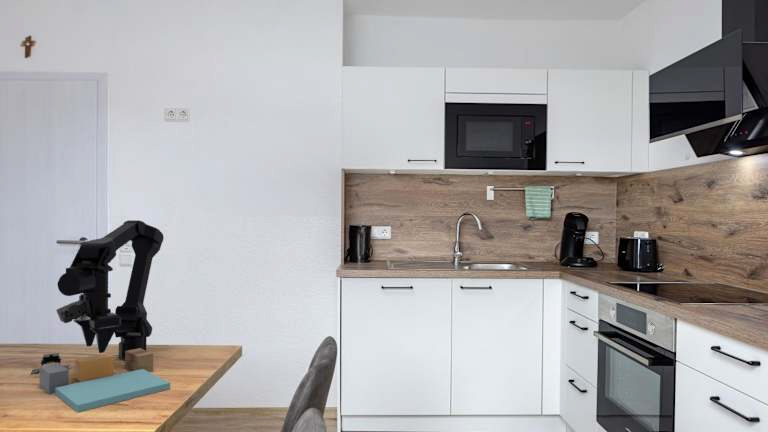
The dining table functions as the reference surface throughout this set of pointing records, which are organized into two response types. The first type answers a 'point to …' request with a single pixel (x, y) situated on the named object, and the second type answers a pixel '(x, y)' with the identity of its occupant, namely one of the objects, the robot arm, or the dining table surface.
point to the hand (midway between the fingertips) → (95, 349)
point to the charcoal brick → (53, 377)
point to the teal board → (110, 389)
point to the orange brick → (94, 366)
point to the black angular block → (49, 361)
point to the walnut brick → (138, 360)
